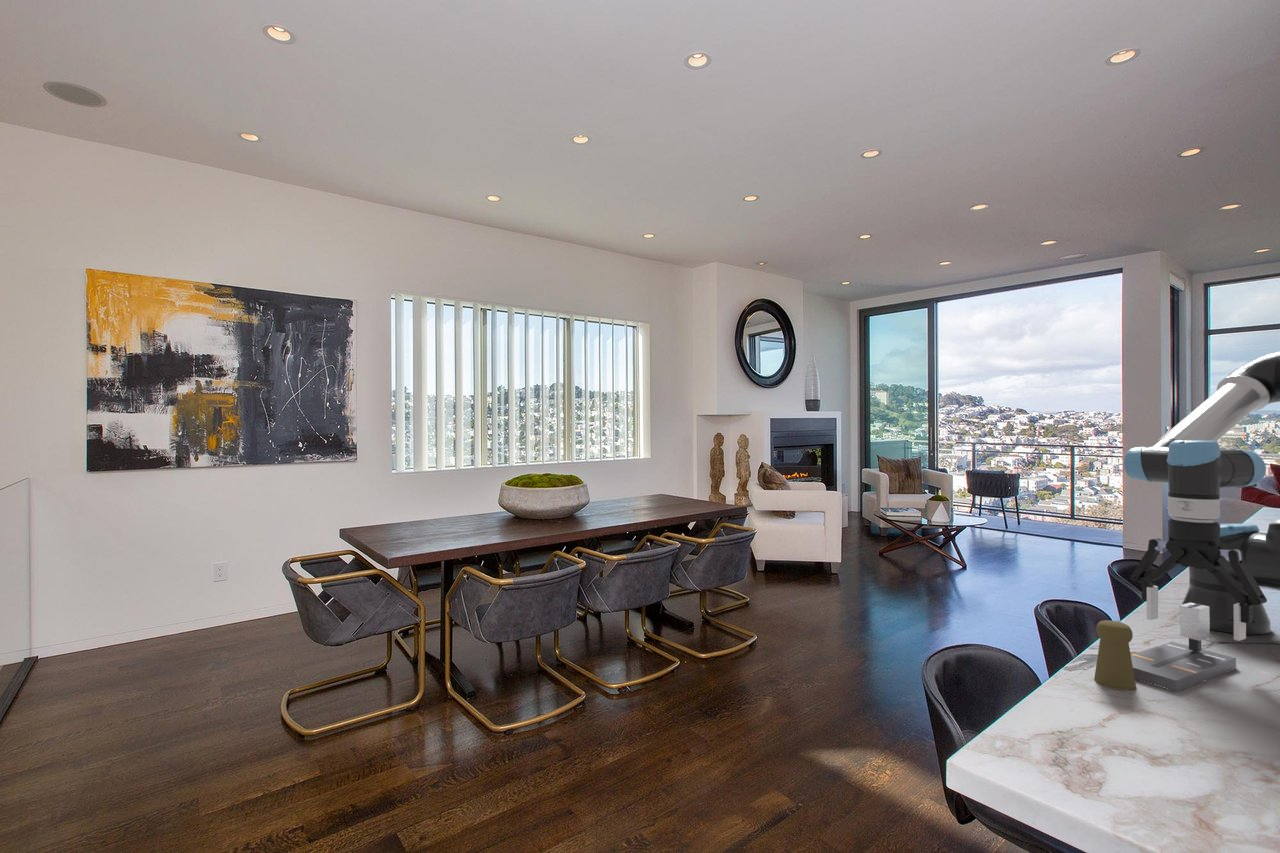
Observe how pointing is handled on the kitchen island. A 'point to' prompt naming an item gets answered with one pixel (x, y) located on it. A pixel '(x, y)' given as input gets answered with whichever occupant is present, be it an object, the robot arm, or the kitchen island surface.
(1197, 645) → the fader knob
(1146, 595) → the robot arm
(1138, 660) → the fader console
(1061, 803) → the kitchen island surface
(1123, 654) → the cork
